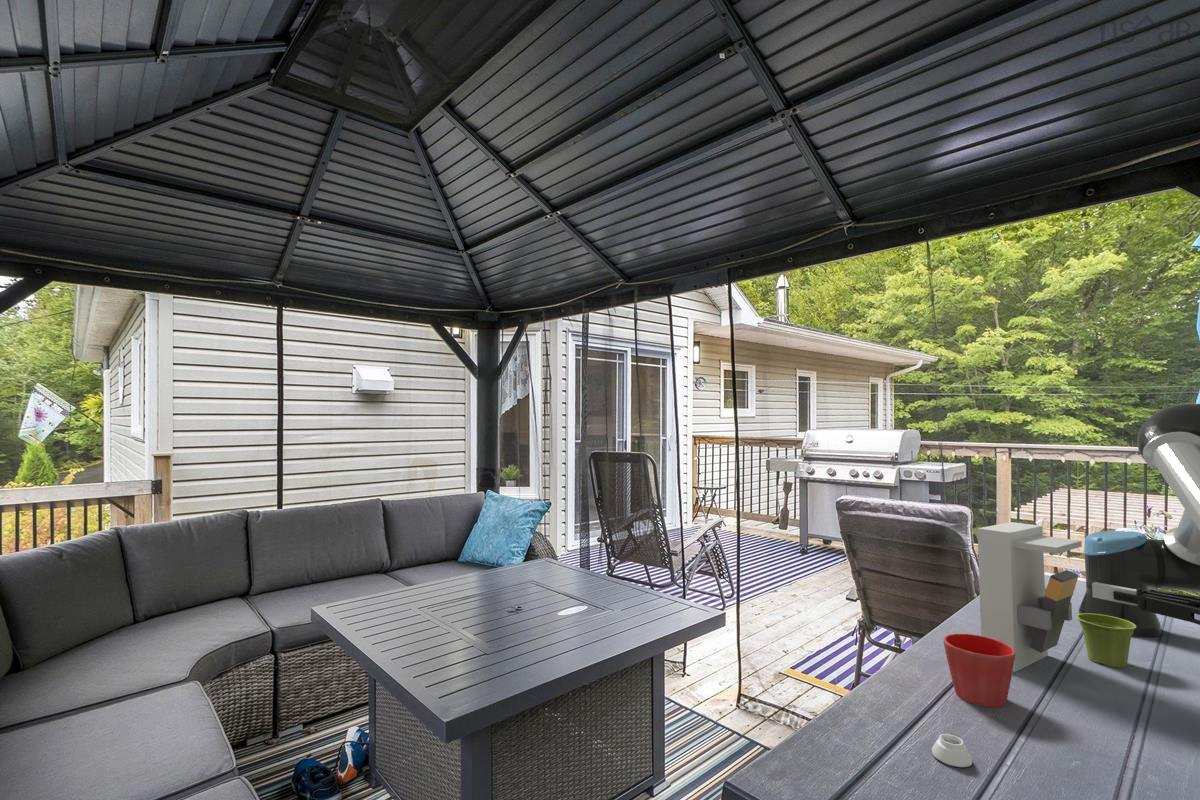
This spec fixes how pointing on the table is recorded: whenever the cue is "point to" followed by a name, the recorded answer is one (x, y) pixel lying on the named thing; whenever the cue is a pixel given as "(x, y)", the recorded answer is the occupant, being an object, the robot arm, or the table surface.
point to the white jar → (951, 751)
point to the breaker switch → (1055, 609)
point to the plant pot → (1107, 638)
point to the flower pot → (980, 668)
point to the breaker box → (1016, 585)
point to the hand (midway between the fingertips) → (1093, 589)
